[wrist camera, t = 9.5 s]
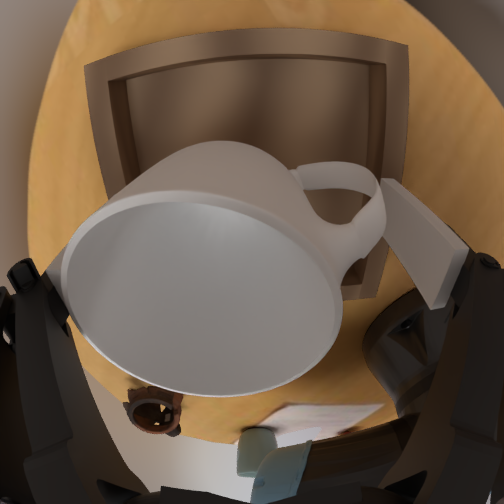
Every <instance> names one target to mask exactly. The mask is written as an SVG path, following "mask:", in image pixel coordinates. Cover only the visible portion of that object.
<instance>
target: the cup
mask: <svg viewBox="0 0 504 504" xmlns="http://www.w3.org/2000/svg"><path fill="white" fill-rule="evenodd" d="M277 448H278V446H277V441H276V438H275V435H274V434H273V432H271V431H270V430H268V429H265V428H251V429H248V430H246V431H244V432H243V433H242V434H241V436H240V438H239V442H238V451H237V474H238V476H241V477H252V478H253V477H254V478H255V476H256V473H257V471H258V468H259V466H260V464H261V462H262V460H263V459H264V458H265V456H266V455H267V454H268V453H269V452H271V451H272V450H274V449H277Z"/></svg>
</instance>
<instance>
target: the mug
mask: <svg viewBox="0 0 504 504" xmlns="http://www.w3.org/2000/svg"><path fill="white" fill-rule="evenodd" d="M330 188H339V189H349V190H354V191H358V192H361V193H364V194H366V195H368V196H370V197H372V198H371V199H370V201H369V202H368V203H367V204H366V205H365V206H364V207H363V208H362V209H361V210H360V211H359V212H358V213H357V214H356V215H355V217H354V218H353V219H352V222H350V223H348V224H343V225H336V224H331V223H328V222H326V221H324V220H323V219H321V218H320V217H319V216H318V215H317V214H316V213H315V211H314V210H313V208H312V206H311V204H310V203H309V201H308V199H307V197H306V195H305V193H304V191H303V190H304V189H305V190H317V189H330ZM385 228H386V209H385V204H384V199H383V195H382V192H381V189H380V186H379V183H378V181H377V179H376V178H375V176H374V175H373V173H372V172H371V171H369V170H368V169H367V168H365V167H363V166H360V165H357V164H354V163H349V162H338V161H332V162H319V163H312V164H306V165H300V166H298V167H297V168H296V169H292V170H288V169H287V168H286V167H285V166H284V165H283V164H282V163H281V162H279V161H278V160H277V159H276V158H274V157H273V156H271V155H270V154H268V153H266V152H265V151H263V150H261V149H259V148H256V147H254V146H251V145H248V144H244V143H240V142H234V141H209V142H203V143H198V144H195V145H192V146H189V147H186V148H184V149H181V150H179V151H177V152H175V153H173V154H171V155H169V156H168V157H166V158H164V159H163V160H161V161H160V162H158V163H157V164H155V165H154V166H152V167H151V168H149V169H148V170H147V171H145V172H144V173H142V174H141V175H140V176H139V177H137V178H136V179H135V180H133V181H132V182H131V183H129V184H128V185H127V186H126V187H124V188H123V189H122V190H121V191H119V192H118V193H117V194H116V195H115V196H113V197H112V198H111V199H110V200H109V201H107V202H106V203H105V204H104V205H103V206H102V207H100V208H99V209H98V210H97V211H96V212H94V213H93V214H92V215H91V216H90V217H88V218H87V219H86V220H85V221H84V222H83V223H82V224H81V225H80V226H79V228H78V229H77V230H76V232H75V233H74V234H73V236H72V238H71V239H70V241H69V243H68V245H67V248H66V250H65V253H64V256H63V260H62V266H61V287H62V293H63V297H64V301H65V304H66V307H67V309H68V312H69V314H70V316H71V318H72V320H73V321H74V323H75V325H76V326H77V328H78V329H79V331H80V332H81V334H82V335H83V336H84V337H85V339H86V340H87V341H88V342H89V343H90V344H91V345H92V346H93V347H94V348H95V349H96V350H97V351H98V352H99V353H100V354H101V355H102V356H103V357H105V358H106V359H107V360H108V361H110V362H111V363H112V364H114V365H115V366H117V367H118V368H120V369H121V370H123V371H125V372H126V373H128V374H130V375H132V376H134V377H136V378H138V379H140V380H142V381H144V382H147V383H149V384H152V385H154V386H157V387H160V388H163V389H167V390H170V391H174V392H178V393H183V394H188V395H195V396H204V397H235V396H244V395H251V394H256V393H260V392H264V391H268V390H271V389H274V388H277V387H280V386H282V385H285V384H287V383H289V382H291V381H293V380H295V379H297V378H298V377H300V376H302V375H303V374H305V373H306V372H308V371H309V370H310V369H312V368H313V367H314V366H315V365H316V364H317V363H318V362H319V361H320V360H321V359H322V358H323V357H324V356H325V355H326V354H327V352H328V351H329V350H330V348H331V347H332V345H333V343H334V342H335V340H336V337H337V335H338V333H339V330H340V326H341V322H342V316H343V300H342V294H341V289H340V286H341V282H342V279H343V277H344V275H345V273H346V272H347V270H348V269H349V268H350V266H351V265H352V264H353V263H354V262H355V261H357V260H358V259H360V258H363V259H364V258H365V257H366V256H367V255H368V253H369V252H370V251H371V250H372V248H373V247H374V246H375V245H376V244H377V242H378V241H379V240H380V238H381V237H382V235H383V233H384V231H385Z"/></svg>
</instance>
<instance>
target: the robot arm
mask: <svg viewBox="0 0 504 504" xmlns="http://www.w3.org/2000/svg"><path fill="white" fill-rule="evenodd" d="M380 189H381V192H382V195H383V199H384V204H385V209H386V228H385V231H384V233H383V235H382V236H383V237H384V239H385V240H386V242H387V243H388V244H389V246H390V247H391V249H392V250H393V252H394V253H395V255H396V256H397V257H398V259H399V260H400V262H401V263H402V265H403V266H404V268H405V269H406V271H407V273H408V274H409V276H410V277H411V279H412V280H413V282H414V283H415V285H416V287H417V289H415V290H413V291H412V292H410V293H408V294H406V295H405V296H403V297H402V298H400V299H399V300H397V301H396V302H394V303H393V304H392V305H391V306H389V307H388V308H387V309H386V310H385V311H384V312H383V313H382V314H381V315H380V316H379V317H378V318H377V319H376V320H375V321H374V322H373V324H372V325H371V326H370V328H369V329H368V331H367V333H366V335H365V337H364V340H363V345H362V349H363V353H364V357H365V360H366V363H367V366H368V368H369V370H370V371H371V372H372V373H373V375H374V376H375V377H376V379H377V380H378V381H379V383H380V384H381V385H382V386H383V388H384V389H385V390H386V392H387V393H388V394H389V396H390V397H391V398H392V400H393V401H394V404H395V407H396V411H397V414H398V419H396V420H393V421H390V422H387V423H384V424H380V425H377V426H374V427H371V428H367V429H364V430H360V431H356V432H353V433H349V434H345V435H341V436H336V437H332V438H327V439H322V440H317V441H312V440H309V441H307V442H306V443H302V444H297V445H292V446H287V447H282V448H277V449H274V450H272V451H271V452H269V453H268V454H267V455H266V456H265V458H264V459H263V460H262V462H261V464H260V466H259V468H258V471H257V473H256V476H255V480H254V484H253V489H252V495H251V501H250V503H247V502H243V501H238V500H234V499H230V498H227V497H223V496H219V495H216V494H212V493H209V492H202V491H192V490H184V489H178V488H171V487H166V486H161V491H158V492H152V493H150V492H149V491H148V489H147V488H146V487H145V485H144V484H143V482H142V481H141V480H140V479H139V478H138V477H137V476H136V475H135V474H134V473H133V472H132V471H131V470H130V469H129V468H128V466H127V465H126V463H125V462H124V460H123V458H122V456H121V455H120V453H119V451H118V449H117V447H116V445H115V444H114V442H113V440H112V438H111V436H110V434H109V432H108V430H107V428H106V425H105V423H104V421H103V419H102V417H101V414H100V412H99V410H98V408H97V405H96V403H95V400H94V398H93V396H92V393H91V391H90V388H89V385H88V382H87V380H86V377H85V374H84V371H83V368H82V365H81V362H80V359H79V356H78V353H77V350H76V346H75V343H74V339H73V336H72V332H71V328H70V326H69V324H68V323H67V321H66V320H67V318H68V316H69V312H68V309H67V307H66V304H65V301H64V297H63V293H62V287H61V266H62V260H63V256H64V253H65V250H66V248H67V245H68V244H67V245H66V246H65V247H64V248H63V249H62V251H61V252H60V253H59V254H58V255H57V257H56V258H55V259H54V260H53V261H52V263H51V264H50V265H49V266H48V268H47V269H46V270H45V272H44V273H43V274H42V276H40V275H39V273H38V271H37V269H36V267H35V265H34V262H33V260H32V259H31V258H26V259H23V260H21V261H19V262H18V263H16V264H15V265H14V266H13V267H12V268H11V269H10V270H9V271H8V274H7V277H8V279H9V281H10V283H11V284H12V286H13V288H14V289H15V291H16V294H13V295H10V294H9V292H8V291H7V289H6V287H4V286H2V287H0V504H486V502H487V499H488V496H489V495H490V494H491V499H490V501H491V502H490V504H504V269H502V268H501V266H500V264H499V263H498V262H497V260H495V259H494V258H493V257H491V256H490V255H488V254H485V253H477V254H476V253H475V252H474V251H473V250H472V249H471V248H470V247H469V246H468V245H467V243H466V242H465V241H464V240H463V239H461V238H460V236H459V235H458V234H457V233H455V231H454V230H453V229H452V228H451V227H450V226H448V225H447V224H445V223H444V222H443V221H442V220H441V219H440V218H439V217H438V216H436V215H435V214H434V213H433V212H432V211H431V210H430V209H429V208H428V207H427V206H425V205H424V204H423V203H422V202H421V201H420V200H419V199H417V198H416V197H415V196H414V195H413V194H412V193H410V192H409V191H408V190H407V189H406V188H404V187H403V186H402V185H401V184H400V183H398V182H397V181H396V180H395V179H391V178H381V182H380ZM115 195H116V194H115ZM115 195H114V196H115ZM112 197H113V196H112ZM112 197H111V198H112ZM111 198H110V199H111ZM110 199H109V200H110ZM109 200H108V201H109ZM3 331H4V332H5V334H6V335H7V336H8V337H9V339H10V343H9V344H8V343H7V342H6V341H5V339H4V338H3Z"/></svg>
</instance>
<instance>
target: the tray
mask: <svg viewBox="0 0 504 504" xmlns="http://www.w3.org/2000/svg"><path fill="white" fill-rule="evenodd" d="M84 72H85V82H86V91H87V99H88V106H89V112H90V119H91V125H92V130H93V136H94V141H95V146H96V151H97V155H98V160H99V164H100V169H101V173H102V177H103V181H104V185H105V189H106V193H107V196H108V200H109V199H110V198H111V197H112V196H114V195H115V194H117V193H118V192H119V191H121V190H122V189H123V188H124V187H126V186H127V185H128V184H129V183H131V182H132V181H133V180H135V179H136V178H137V177H139V176H140V175H141V174H142V173H144V172H145V171H147V170H148V169H149V168H151V167H152V166H154V165H155V164H157V163H158V162H160V161H161V160H163V159H164V158H166V157H168V156H169V155H171V154H173V153H175V152H177V151H179V150H181V149H184V148H186V147H189V146H192V145H195V144H198V143H203V142H209V141H234V142H240V143H244V144H248V145H251V146H254V147H256V148H259V149H261V150H263V151H265V152H266V153H268V154H270V155H271V156H273V157H274V158H276V159H277V160H278V161H279V162H281V163H282V164H283V165H284V166H285V167H286V168H287V169H288V170H292V169H296V168H297V167H298V166H300V165H306V164H312V163H319V162H332V161H338V162H349V163H354V164H357V165H360V166H363V167H365V168H367V169H368V170H369V171H371V172H372V173H373V175H374V176H375V178H376V179H377V181H378V183H379V186H380V182H381V178H391V179H395V180H396V181H397V182H398V183H400V184H401V182H402V175H403V167H404V159H405V150H406V139H407V126H408V108H409V58H408V45H404V44H401V43H397V42H393V41H388V40H384V39H379V38H375V37H369V36H364V35H358V34H352V33H345V32H337V31H328V30H317V29H301V28H253V29H237V30H225V31H216V32H208V33H201V34H195V35H189V36H183V37H178V38H173V39H168V40H164V41H160V42H155V43H151V44H148V45H144V46H140V47H137V48H133V49H130V50H126V51H123V52H120V53H117V54H114V55H111V56H108V57H105V58H103V59H100V60H97V61H95V62H92V63H90V64H87V65H85V66H84ZM303 191H304V193H305V195H306V197H307V199H308V201H309V203H310V204H311V206H312V208H313V210H314V211H315V213H316V214H317V215H318V216H319V217H320V218H321V219H323V220H324V221H326V222H328V223H331V224H336V225H343V224H348V223H350V222H352V219H353V218H354V217H355V215H356V214H357V213H358V212H359V211H360V210H361V209H362V208H363V207H364V206H365V205H366V204H367V203H368V202H369V201H370V199H371V198H372V197H370V196H368V195H366V194H364V193H361V192H358V191H354V190H349V189H339V188H330V189H317V190H305V189H304V190H303ZM388 249H389V244H388V243H387V242H386V240H385V239H384V237H383V236H382V237H381V238H380V240H379V241H378V242H377V244H376V245H375V246H374V247H373V248H372V250H371V251H370V252H369V253H368V255H367V256H366V257H365V258H364V259H363V258H360V259H358V260H357V261H355V262H354V263H353V264H352V265H351V266H350V268H349V269H348V270H347V272H346V273H345V275H344V277H343V279H342V282H341V286H340V289H341V294H342V300H343V301H345V300H355V299H364V298H374V297H376V294H377V291H378V287H379V284H380V280H381V277H382V273H383V269H384V265H385V262H386V258H387V254H388Z"/></svg>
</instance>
